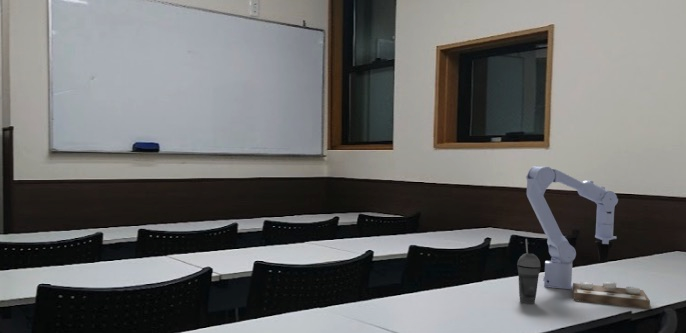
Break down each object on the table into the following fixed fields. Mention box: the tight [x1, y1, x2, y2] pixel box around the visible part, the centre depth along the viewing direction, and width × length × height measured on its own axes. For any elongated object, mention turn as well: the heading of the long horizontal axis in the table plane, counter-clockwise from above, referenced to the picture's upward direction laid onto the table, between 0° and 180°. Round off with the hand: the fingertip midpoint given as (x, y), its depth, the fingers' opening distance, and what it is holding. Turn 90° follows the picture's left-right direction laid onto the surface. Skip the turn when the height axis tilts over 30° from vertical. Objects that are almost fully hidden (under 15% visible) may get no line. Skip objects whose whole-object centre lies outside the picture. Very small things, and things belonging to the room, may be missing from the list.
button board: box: [572, 282, 651, 310], centre depth 197 cm, size 22×16×3 cm
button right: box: [625, 286, 641, 294], centre depth 195 cm, size 4×4×2 cm
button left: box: [579, 281, 594, 290], centre depth 200 cm, size 4×4×2 cm
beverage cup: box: [516, 238, 542, 305], centre depth 189 cm, size 7×7×20 cm
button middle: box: [602, 281, 617, 289], centre depth 197 cm, size 4×4×2 cm
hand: (603, 261), depth 214 cm, fingers closed
